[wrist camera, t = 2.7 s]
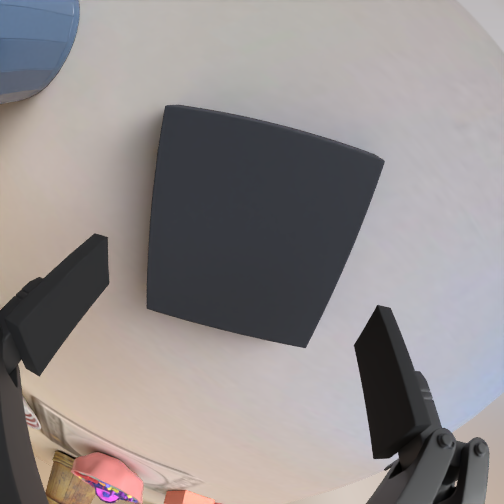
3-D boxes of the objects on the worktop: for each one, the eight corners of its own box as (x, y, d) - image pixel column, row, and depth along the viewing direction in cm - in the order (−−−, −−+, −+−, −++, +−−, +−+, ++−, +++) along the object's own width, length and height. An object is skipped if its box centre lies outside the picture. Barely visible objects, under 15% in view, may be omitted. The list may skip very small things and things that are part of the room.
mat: (177, 104, 16) (164, 105, 14) (374, 154, 16) (385, 160, 14) (155, 293, 22) (146, 308, 21) (304, 330, 23) (305, 348, 21)
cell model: (154, 464, 44) (140, 510, 34) (148, 481, 53) (138, 516, 44) (76, 430, 43) (57, 473, 33) (87, 455, 52) (73, 489, 42)
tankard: (115, 479, 61) (95, 542, 39) (88, 475, 70) (69, 526, 48) (65, 450, 55) (37, 514, 33) (46, 449, 64) (23, 501, 42)
